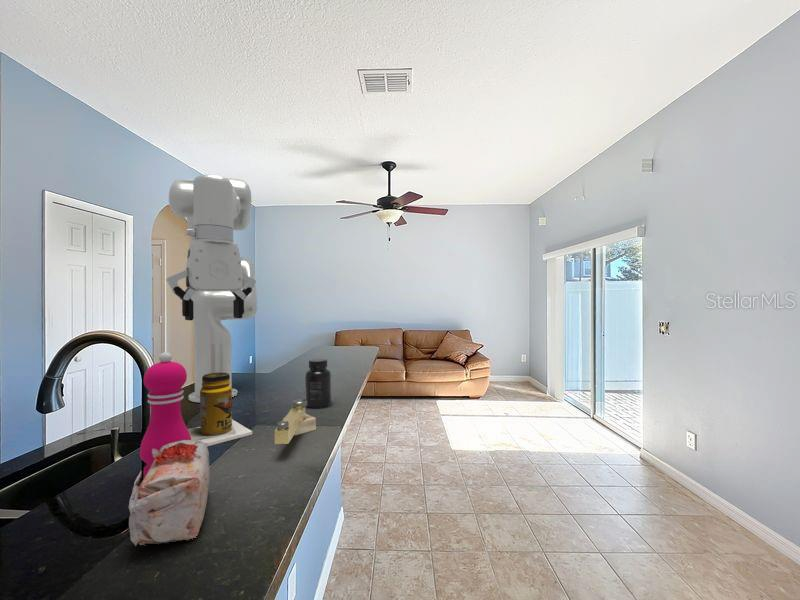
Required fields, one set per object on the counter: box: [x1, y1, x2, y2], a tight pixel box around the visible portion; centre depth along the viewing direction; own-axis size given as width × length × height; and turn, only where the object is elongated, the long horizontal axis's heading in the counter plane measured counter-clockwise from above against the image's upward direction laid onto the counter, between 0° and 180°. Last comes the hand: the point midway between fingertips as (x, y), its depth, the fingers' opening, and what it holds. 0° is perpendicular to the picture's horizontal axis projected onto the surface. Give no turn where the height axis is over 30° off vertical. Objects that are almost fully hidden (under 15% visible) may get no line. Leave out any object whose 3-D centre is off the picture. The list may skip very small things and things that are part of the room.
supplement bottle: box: [304, 358, 332, 409], centre depth 101 cm, size 7×7×12 cm
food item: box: [128, 440, 211, 547], centre depth 49 cm, size 14×8×10 cm, turn 24°
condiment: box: [187, 373, 236, 440], centre depth 79 cm, size 7×8×12 cm
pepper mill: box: [139, 351, 191, 479], centre depth 62 cm, size 7×7×20 cm
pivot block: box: [293, 413, 317, 436], centre depth 82 cm, size 5×5×2 cm
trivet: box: [195, 419, 253, 447], centre depth 80 cm, size 11×11×1 cm
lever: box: [274, 398, 307, 445], centre depth 76 cm, size 3×17×3 cm, turn 3°
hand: (214, 318), depth 79 cm, fingers open, 9 cm apart
